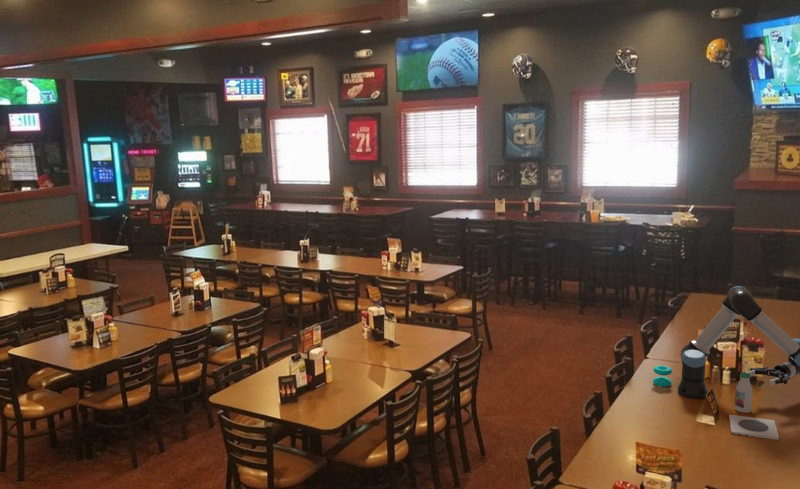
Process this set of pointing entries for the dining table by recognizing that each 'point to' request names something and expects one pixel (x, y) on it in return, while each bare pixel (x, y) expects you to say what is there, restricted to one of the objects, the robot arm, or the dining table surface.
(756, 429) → the board
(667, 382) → the donuts
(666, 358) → the dining table surface
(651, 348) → the dining table surface
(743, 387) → the milk bottle
